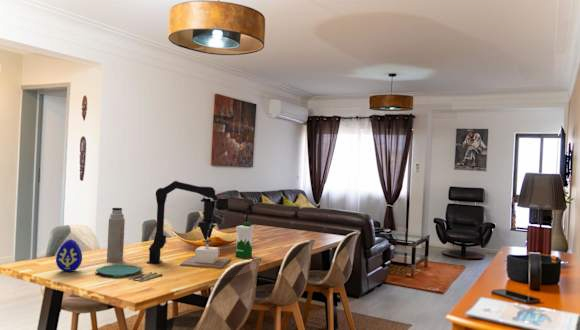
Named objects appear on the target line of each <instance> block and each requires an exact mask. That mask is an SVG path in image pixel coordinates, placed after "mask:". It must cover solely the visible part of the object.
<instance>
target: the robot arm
mask: <svg viewBox="0 0 580 330" xmlns="http://www.w3.org/2000/svg"><path fill="white" fill-rule="evenodd" d="M176 189H177V190H182V191H187V192H190V193H195V194H196V193H197V194H199V195H201V196H202V198H201V199H200V202H203V211H202V213H201V214H202V215H203V217H202V219H201V220H200V221H199V222H198V224H197V228H199V229H200V231H201V233H202V236H203V238H204V239H205V240H207V239H211V237H212V233H213V229H214V228H215V227H216V226H217V225H219V226H220V225H221V226H222V225H223V223H224V222H225V217H224V216H225V215H223V214H219V215H217V213H216V211H215V209H217V211H225V212H226V211H229V197H222V198H221V197H219V198H218V195H216V189H215V188H214V187H212V186H205V185H204V186H201V185H199V186H198V185H194V184H190V183H186V182H181V181H178V180H174V181H173V182H171V183H169V185H166V186H165V187H158V189H156V191H155V200H156V204H157V206H156V209H157V211H156V228H155V230H156V231H155V234H154V238H153V239H154V240H153V242H152V244H150V246H149V247H148V251H149V253H148V254H149V255H148V256H149V257H148V261H146V264H160V263H162V262H163V260H162V259H161V253H162V252H161V249H163V248H164V246H165V244H167V233H165V232H164V227H165V208H166V207H165V205H166V201H167V198H168V194H170V193H171V192H172V191H174V190H176ZM205 197H206V198H205ZM211 199H212V200H211ZM204 239H203V240H204Z"/></svg>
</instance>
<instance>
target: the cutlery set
mask: <svg viewBox="0 0 580 330" xmlns="http://www.w3.org/2000/svg"><path fill="white" fill-rule="evenodd" d="M140 272H141V273H142V274H140ZM95 274H99V275H101V276H107V277H114V278H123V277H127V276H128V277H129V276H132V277H129V278H128V280H133V281H135V282H136V281H137V282H138V283H139V282H140V283H143V282H146V281H150V279H152V280H153V279H155V278H158V277H162V276H163V273H160V274H158V273H157V272H156V271H155V272H151V271H150V272H148V273H147V272H146V273H143V268H142V267H140V266H137V265H130V264H125V263H123V264H119V263H118V264H112V265H105V266H102V267H98V268H96V270H95ZM137 274H139V275H137ZM133 275H136V276H133ZM150 276H152V277H150Z"/></svg>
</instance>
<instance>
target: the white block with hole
mask: <svg viewBox="0 0 580 330" xmlns="http://www.w3.org/2000/svg"><path fill="white" fill-rule="evenodd" d="M194 251H195V252H194V253H195V254H194V256H195V262H199V263H214V262H216V261H217V260H218V257H219V247H218V246H217V247H214V246H208V249H206V246H204V245H203V246H202V245H201V246H199V247H197V248H196V249H195V250H194Z"/></svg>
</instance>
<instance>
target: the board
mask: <svg viewBox="0 0 580 330" xmlns="http://www.w3.org/2000/svg"><path fill="white" fill-rule="evenodd" d="M231 261H232V258H231V257H230V258H229V257H219V256H218V260H217V261H216V262H214V263H199V262H195V255H192V256H191V257H188V258H187V259H185V260H183V261H182V262H180V263H179V266H180V267H181V266H182V267H192V268H193V267H194V268H207V269H208V268H209V269H223V268H224V267H225V266H226V265H227V264H228V263H229V262H231Z"/></svg>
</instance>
